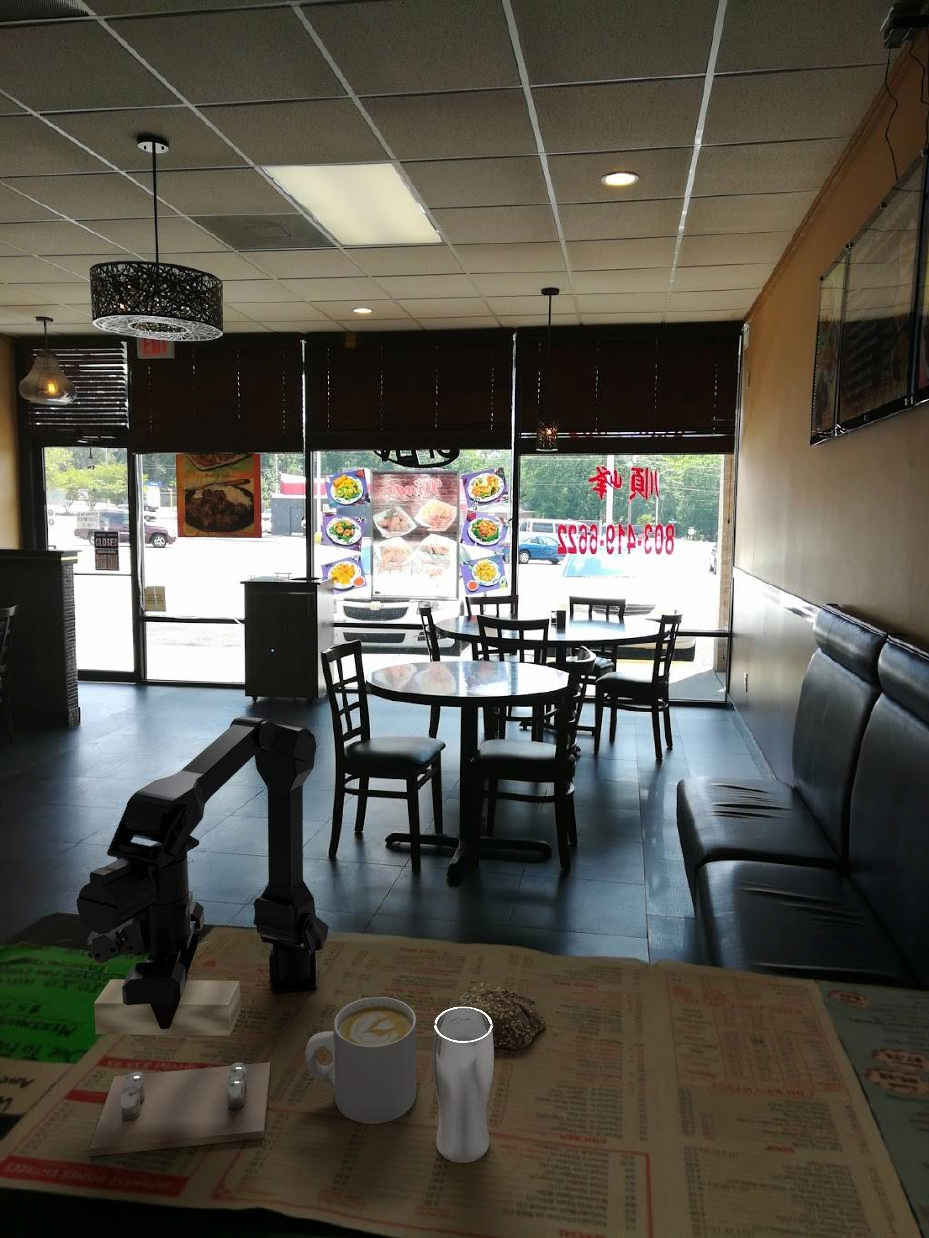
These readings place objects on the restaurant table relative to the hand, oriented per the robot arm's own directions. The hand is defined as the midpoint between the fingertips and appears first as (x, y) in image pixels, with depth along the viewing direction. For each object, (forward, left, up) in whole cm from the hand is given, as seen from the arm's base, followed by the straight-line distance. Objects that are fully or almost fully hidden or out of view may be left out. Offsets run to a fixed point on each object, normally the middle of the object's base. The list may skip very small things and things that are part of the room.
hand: (169, 1013), depth 108 cm
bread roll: (-42, -8, -11) cm, 44 cm away
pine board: (0, 0, -1) cm, 1 cm away
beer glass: (-34, +14, -11) cm, 38 cm away
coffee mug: (-23, +4, -11) cm, 26 cm away
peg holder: (-2, +4, -10) cm, 11 cm away
